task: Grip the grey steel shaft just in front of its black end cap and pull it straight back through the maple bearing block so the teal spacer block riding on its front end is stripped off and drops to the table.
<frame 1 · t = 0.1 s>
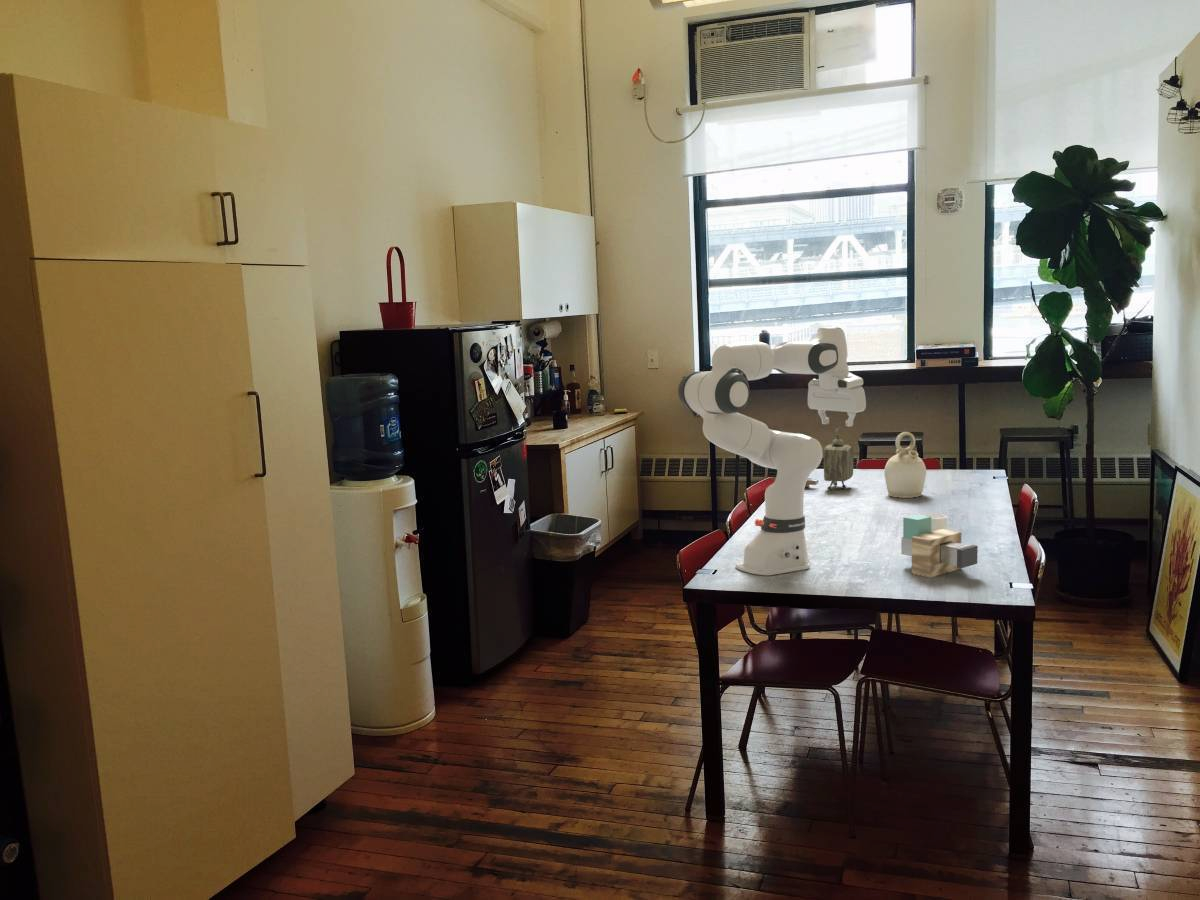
hand: (837, 425, 300), 39 cm above the table, tool pointing down, fingers open, 8 cm apart
tabletop clock: (839, 489, 405), on the table
jug: (905, 495, 386), on the table
bearing block: (936, 571, 278), on the table
mug: (926, 555, 296), on the table
shaft: (937, 550, 277), point 6 cm above the table, slide at 0.0 cm, touching spacer
spacer: (917, 537, 282), point 8 cm above the table, touching shaft
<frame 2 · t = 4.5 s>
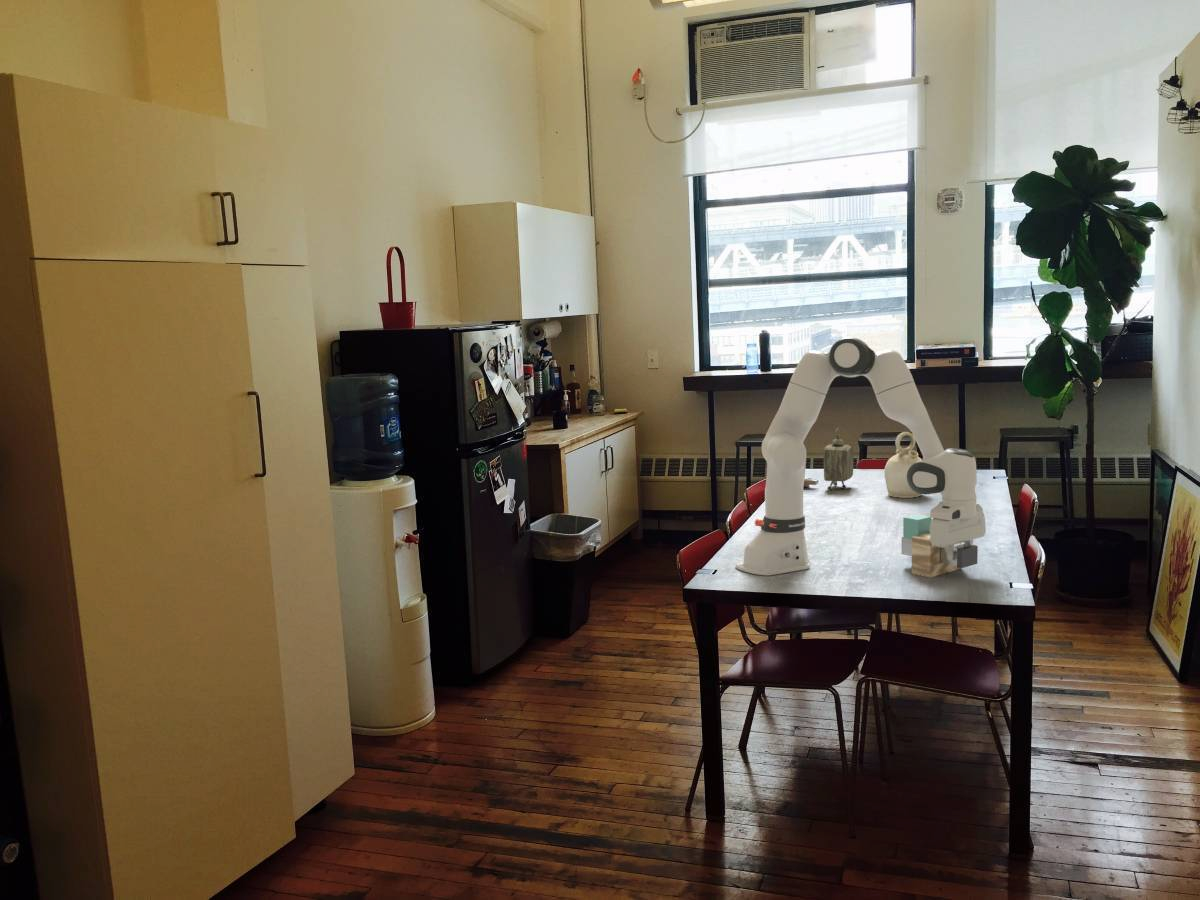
hand: (958, 557, 272), 5 cm above the table, tool pointing down, fingers closed on shaft, 5 cm apart
shaft: (937, 550, 277), point 6 cm above the table, slide at 0.0 cm, touching gripper, spacer
everything else where it was.
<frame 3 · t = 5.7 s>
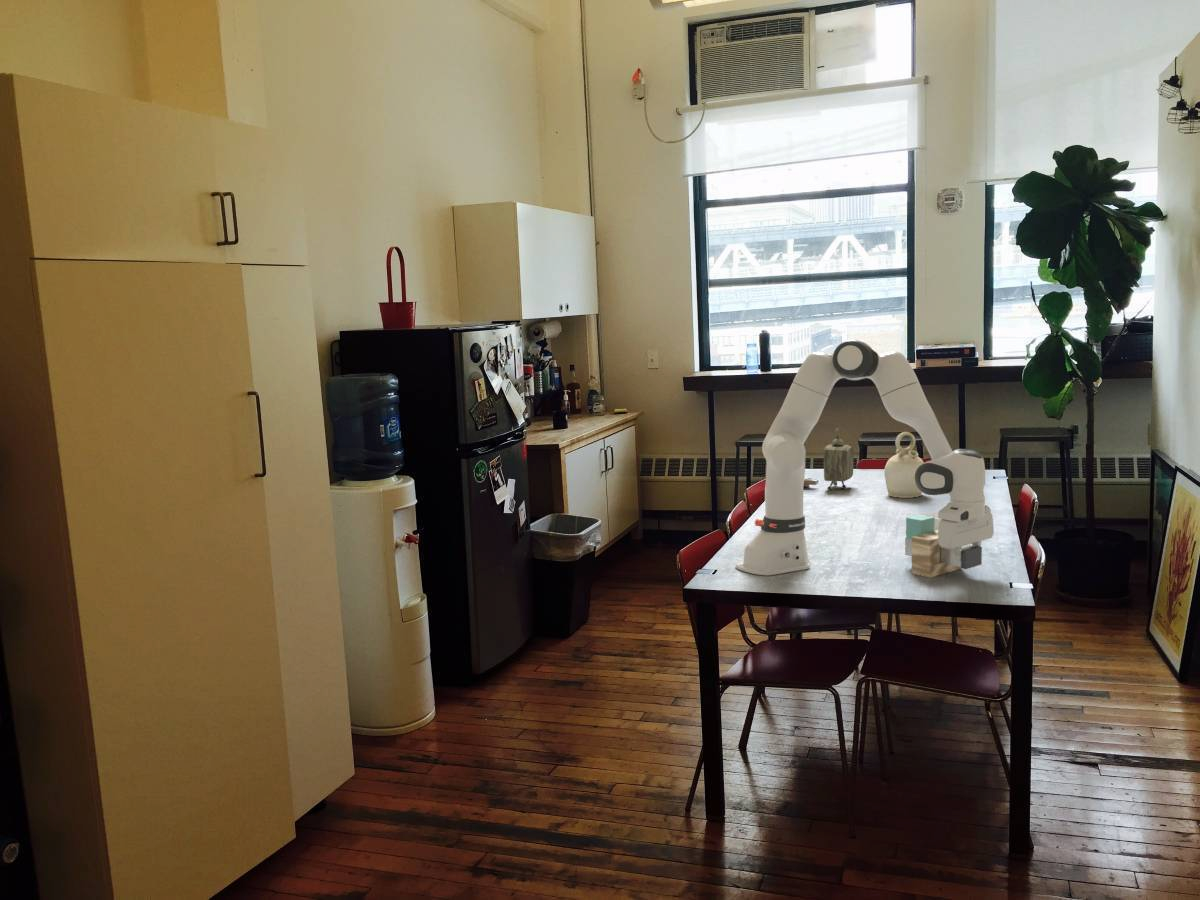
hand: (966, 559, 270), 5 cm above the table, tool pointing down, fingers closed on shaft, 5 cm apart
shaft: (941, 551, 276), point 6 cm above the table, slide at 1.3 cm, touching gripper, spacer
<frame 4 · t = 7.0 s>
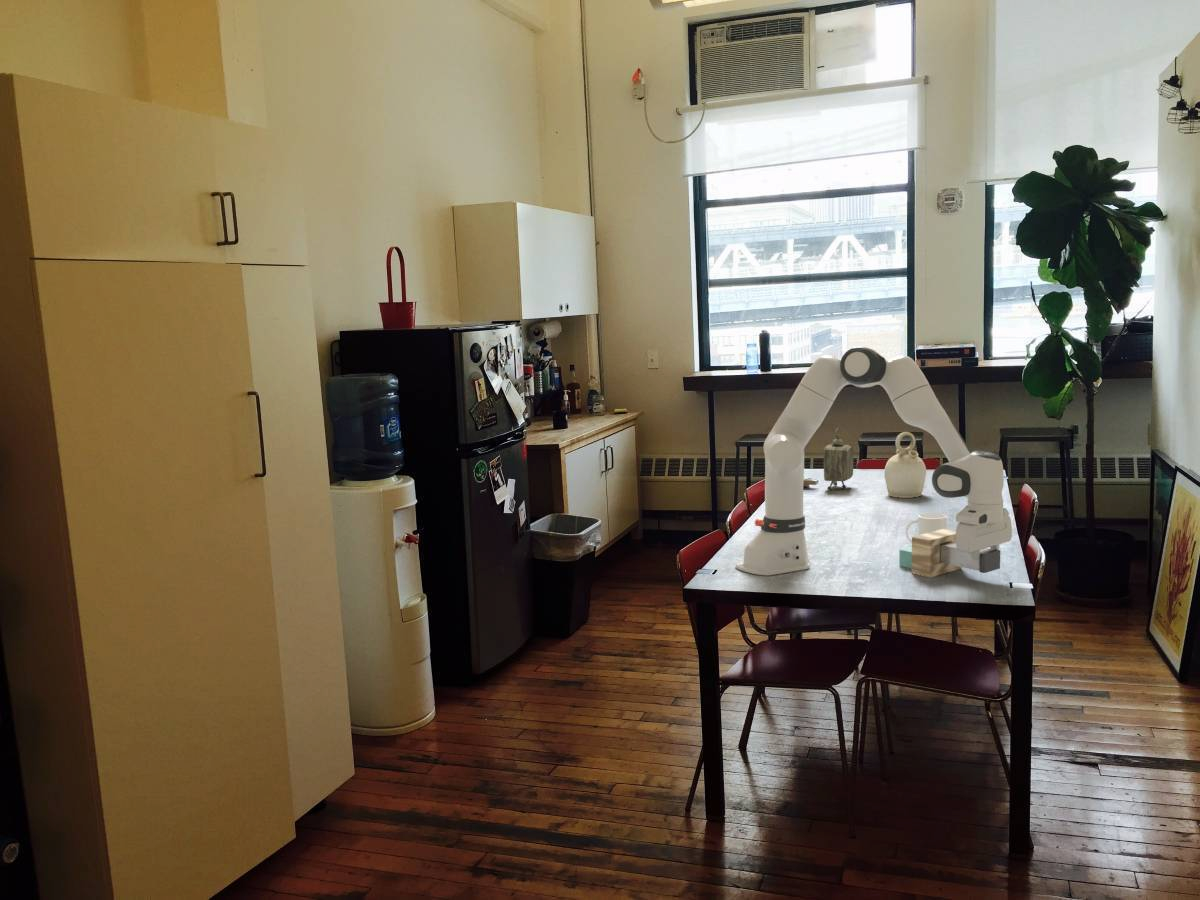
hand: (984, 563, 265), 5 cm above the table, tool pointing down, fingers closed on shaft, 5 cm apart
shaft: (958, 554, 271), point 6 cm above the table, slide at 6.9 cm, touching gripper
spacer: (923, 560, 281), point 2 cm above the table, tilted 90°
everything else where it was.
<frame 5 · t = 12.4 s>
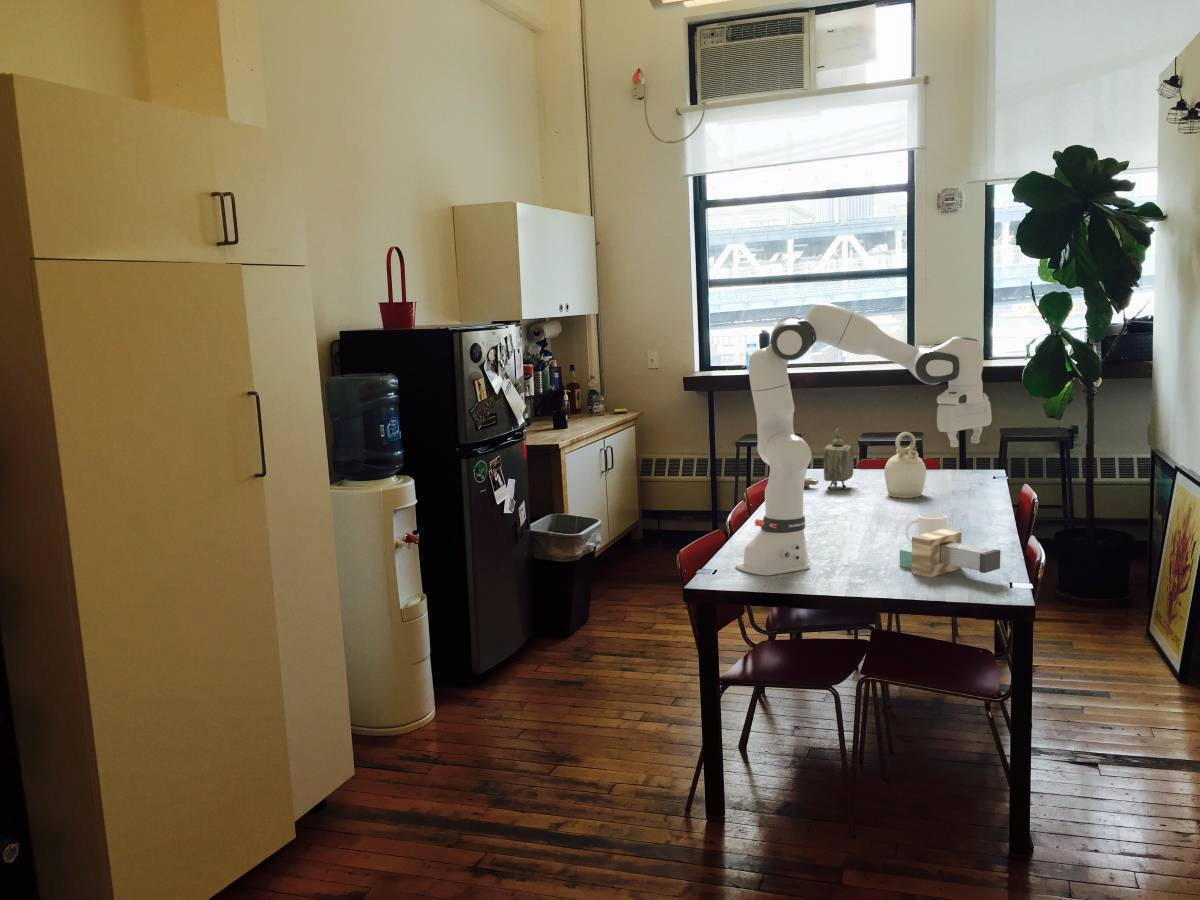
hand: (964, 444, 275), 35 cm above the table, tool pointing down, fingers open, 8 cm apart
shaft: (958, 554, 271), point 6 cm above the table, slide at 6.9 cm
everything else where it was.
at the end: shaft slide at 6.9 cm; spacer point 2.3 cm above the table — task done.
